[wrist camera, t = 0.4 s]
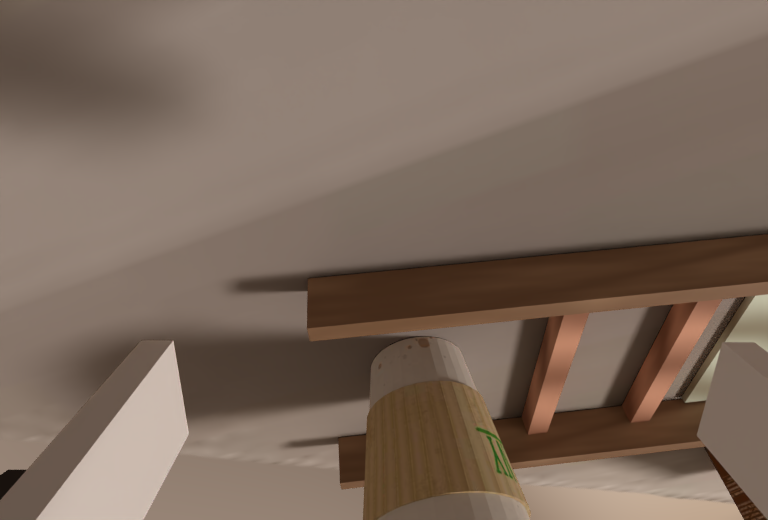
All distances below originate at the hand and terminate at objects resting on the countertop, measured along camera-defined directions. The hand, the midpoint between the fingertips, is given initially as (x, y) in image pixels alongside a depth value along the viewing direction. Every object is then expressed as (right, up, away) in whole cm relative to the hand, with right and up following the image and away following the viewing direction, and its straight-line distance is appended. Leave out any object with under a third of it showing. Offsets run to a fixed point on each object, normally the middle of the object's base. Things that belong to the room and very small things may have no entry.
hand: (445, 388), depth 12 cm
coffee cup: (+1, -4, +21) cm, 22 cm away
